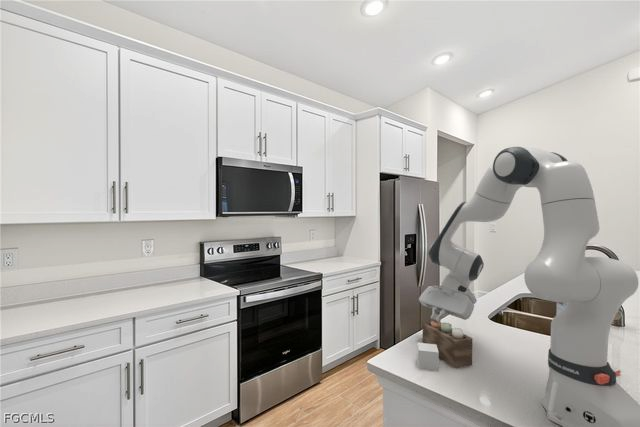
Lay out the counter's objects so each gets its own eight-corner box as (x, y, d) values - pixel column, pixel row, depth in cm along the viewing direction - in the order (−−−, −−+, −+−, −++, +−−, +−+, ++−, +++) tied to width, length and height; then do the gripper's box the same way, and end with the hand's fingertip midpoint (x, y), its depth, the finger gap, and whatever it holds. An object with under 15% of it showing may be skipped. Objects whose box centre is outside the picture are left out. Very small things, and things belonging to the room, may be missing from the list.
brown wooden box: (472, 365, 103) (472, 338, 103) (455, 368, 101) (455, 341, 101) (437, 345, 118) (438, 321, 118) (422, 347, 116) (422, 323, 116)
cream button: (465, 338, 104) (465, 331, 104) (457, 339, 102) (457, 332, 102) (457, 334, 107) (457, 327, 107) (449, 335, 106) (449, 328, 106)
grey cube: (417, 360, 107) (417, 342, 107) (436, 362, 105) (436, 344, 105) (418, 368, 101) (418, 350, 101) (438, 371, 100) (438, 352, 99)
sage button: (453, 332, 108) (453, 325, 108) (445, 333, 107) (445, 326, 107) (446, 328, 112) (446, 322, 112) (438, 330, 111) (438, 323, 110)
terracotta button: (442, 329, 113) (443, 322, 113) (435, 330, 112) (435, 324, 112) (436, 326, 117) (436, 319, 117) (428, 327, 115) (428, 320, 115)
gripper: (426, 279, 127) (408, 307, 122) (473, 290, 109) (454, 324, 104) (433, 288, 129) (416, 316, 124) (481, 301, 111) (463, 335, 107)
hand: (434, 320), depth 114 cm, fingers closed, pressing on terracotta button
